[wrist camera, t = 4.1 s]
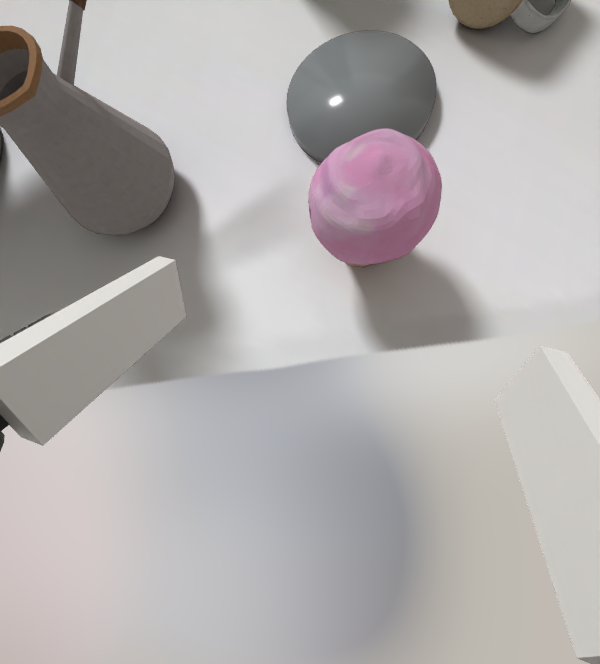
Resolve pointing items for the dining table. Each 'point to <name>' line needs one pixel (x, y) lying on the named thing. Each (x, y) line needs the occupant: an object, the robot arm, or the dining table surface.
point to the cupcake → (374, 198)
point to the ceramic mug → (505, 13)
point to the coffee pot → (81, 137)
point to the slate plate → (359, 91)
